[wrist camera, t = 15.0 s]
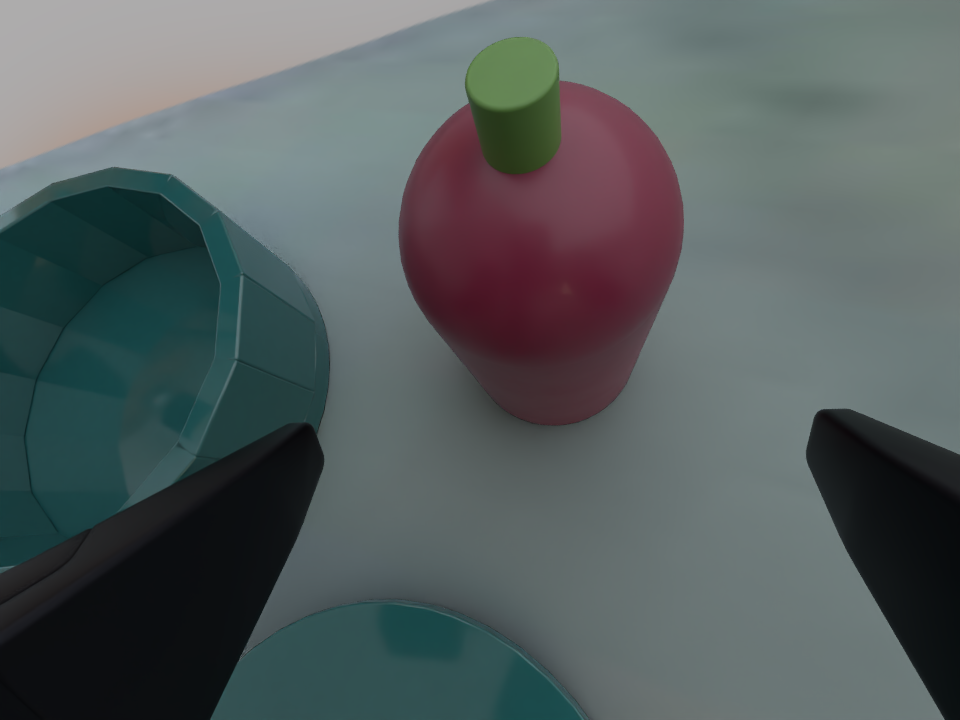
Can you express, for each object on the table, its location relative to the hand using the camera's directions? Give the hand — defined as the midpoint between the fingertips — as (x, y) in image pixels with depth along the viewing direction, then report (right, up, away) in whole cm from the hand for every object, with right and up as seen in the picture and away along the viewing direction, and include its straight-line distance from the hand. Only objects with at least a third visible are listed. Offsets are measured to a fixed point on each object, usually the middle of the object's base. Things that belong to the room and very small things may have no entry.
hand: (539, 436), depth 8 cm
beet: (+1, +2, +8) cm, 8 cm away
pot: (-13, 0, +10) cm, 17 cm away
